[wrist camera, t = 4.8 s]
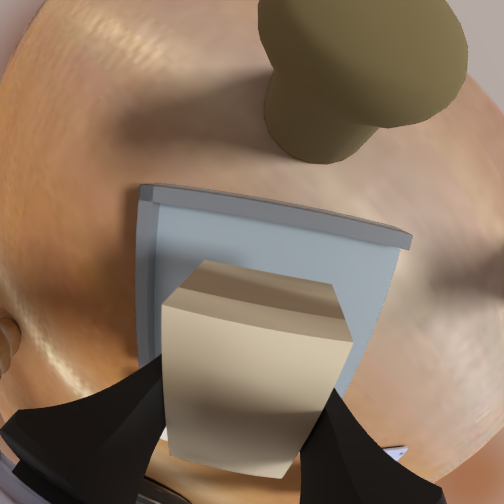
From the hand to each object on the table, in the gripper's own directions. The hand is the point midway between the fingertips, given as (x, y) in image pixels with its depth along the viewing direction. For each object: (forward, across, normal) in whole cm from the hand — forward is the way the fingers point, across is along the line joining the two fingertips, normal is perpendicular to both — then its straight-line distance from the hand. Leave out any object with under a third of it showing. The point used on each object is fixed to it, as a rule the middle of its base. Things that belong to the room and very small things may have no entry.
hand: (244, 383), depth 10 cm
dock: (+7, 0, 0) cm, 7 cm away
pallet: (+2, 0, 0) cm, 2 cm away
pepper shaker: (+7, -1, -12) cm, 14 cm away
